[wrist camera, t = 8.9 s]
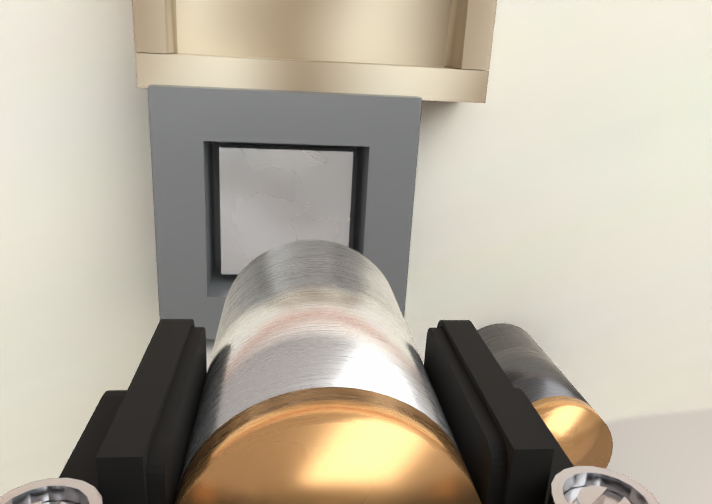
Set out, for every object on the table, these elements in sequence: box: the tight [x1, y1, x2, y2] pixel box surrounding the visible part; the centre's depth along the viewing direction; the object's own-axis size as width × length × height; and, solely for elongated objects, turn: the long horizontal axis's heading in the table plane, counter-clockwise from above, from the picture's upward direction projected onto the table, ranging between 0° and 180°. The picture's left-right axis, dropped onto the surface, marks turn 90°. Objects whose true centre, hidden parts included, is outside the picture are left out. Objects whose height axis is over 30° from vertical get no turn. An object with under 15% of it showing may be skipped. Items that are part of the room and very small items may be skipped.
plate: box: [219, 144, 353, 274], centre depth 23 cm, size 5×5×1 cm
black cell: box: [477, 324, 613, 469], centre depth 26 cm, size 4×4×7 cm
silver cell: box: [174, 240, 482, 504], centre depth 11 cm, size 4×4×7 cm
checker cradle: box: [148, 84, 422, 339], centre depth 24 cm, size 9×9×4 cm
